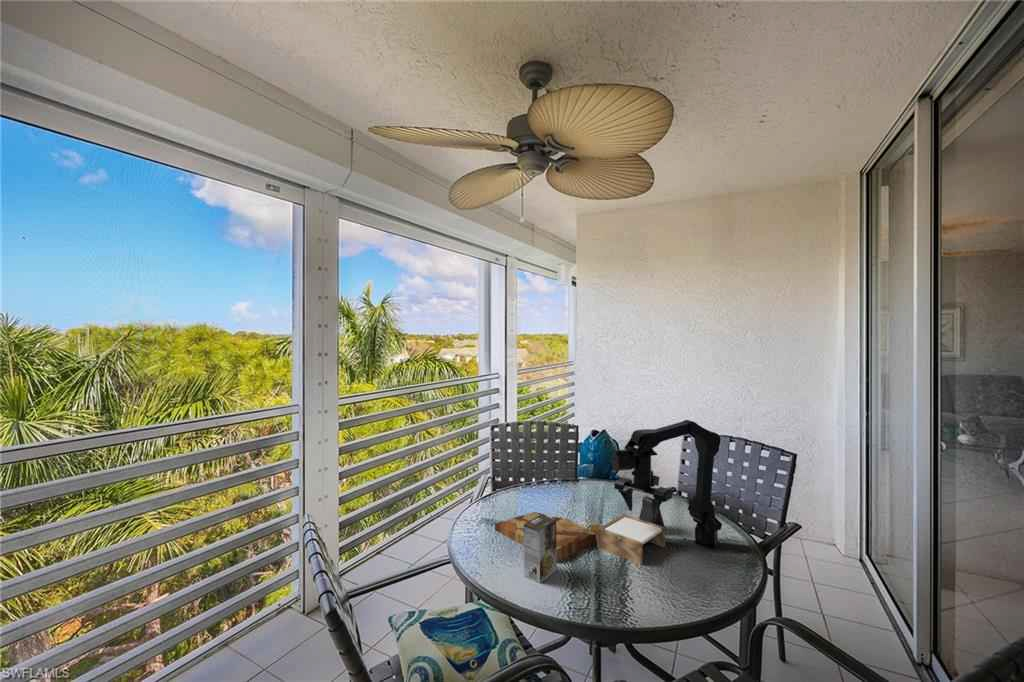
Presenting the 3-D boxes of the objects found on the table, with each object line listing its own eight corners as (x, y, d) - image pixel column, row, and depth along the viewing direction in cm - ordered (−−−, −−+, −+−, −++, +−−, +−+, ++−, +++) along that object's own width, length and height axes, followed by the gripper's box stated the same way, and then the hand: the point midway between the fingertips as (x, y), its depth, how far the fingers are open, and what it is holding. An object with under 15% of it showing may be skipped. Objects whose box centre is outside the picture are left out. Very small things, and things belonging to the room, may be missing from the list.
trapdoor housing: (665, 545, 152) (665, 527, 152) (640, 565, 139) (640, 544, 139) (623, 531, 163) (623, 514, 163) (597, 547, 150) (597, 529, 150)
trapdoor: (661, 536, 151) (661, 528, 151) (641, 550, 141) (641, 542, 141) (625, 524, 160) (625, 516, 160) (604, 537, 150) (604, 528, 150)
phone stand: (653, 524, 169) (653, 493, 169) (665, 530, 163) (665, 499, 163) (636, 529, 165) (636, 497, 165) (647, 536, 159) (647, 503, 159)
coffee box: (540, 564, 140) (540, 514, 139) (557, 571, 135) (557, 519, 135) (522, 576, 133) (522, 523, 132) (540, 584, 128) (540, 529, 128)
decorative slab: (598, 545, 153) (598, 531, 153) (552, 565, 140) (552, 550, 140) (537, 515, 179) (537, 503, 179) (493, 530, 165) (493, 517, 165)
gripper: (679, 469, 147) (679, 515, 147) (629, 458, 160) (629, 500, 160) (664, 476, 139) (664, 525, 139) (613, 464, 152) (613, 509, 152)
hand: (642, 514), depth 148 cm, fingers open, 8 cm apart
